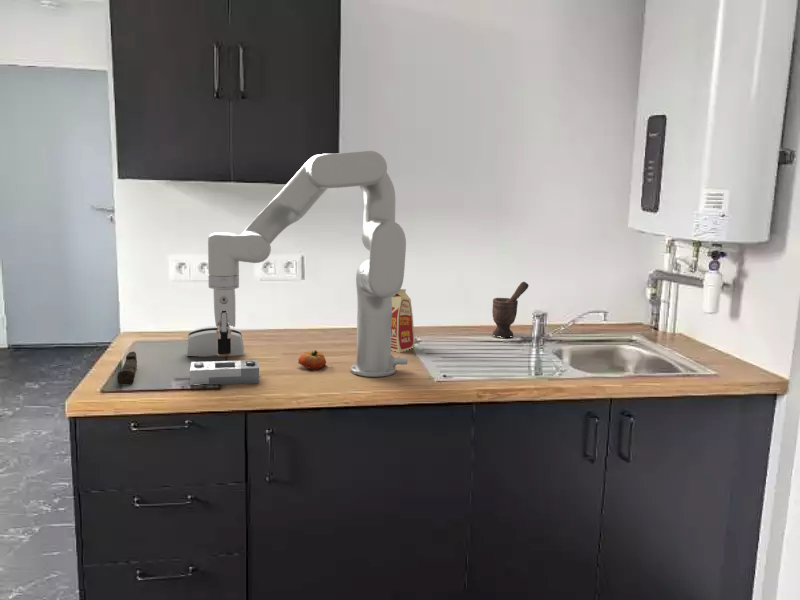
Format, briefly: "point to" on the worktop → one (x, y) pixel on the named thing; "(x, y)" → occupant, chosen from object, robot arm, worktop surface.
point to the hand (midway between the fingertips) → (224, 351)
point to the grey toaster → (212, 342)
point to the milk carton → (402, 322)
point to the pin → (217, 343)
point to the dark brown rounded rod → (128, 369)
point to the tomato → (312, 360)
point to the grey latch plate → (224, 372)
